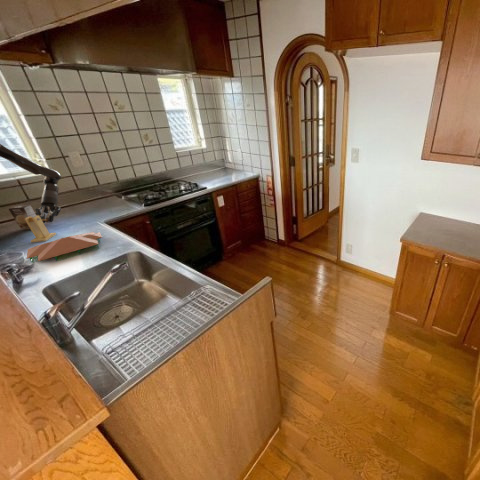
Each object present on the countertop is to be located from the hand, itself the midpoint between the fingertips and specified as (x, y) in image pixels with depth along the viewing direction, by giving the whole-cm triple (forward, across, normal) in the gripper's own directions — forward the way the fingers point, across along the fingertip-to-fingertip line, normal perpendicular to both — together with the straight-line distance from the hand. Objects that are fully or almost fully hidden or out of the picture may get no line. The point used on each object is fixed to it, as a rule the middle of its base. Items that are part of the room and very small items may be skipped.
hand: (46, 222), depth 171 cm
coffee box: (-4, -21, +16) cm, 27 cm away
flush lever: (+2, 0, -3) cm, 4 cm away
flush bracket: (+11, 0, 0) cm, 11 cm away
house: (+28, +26, -16) cm, 42 cm away
